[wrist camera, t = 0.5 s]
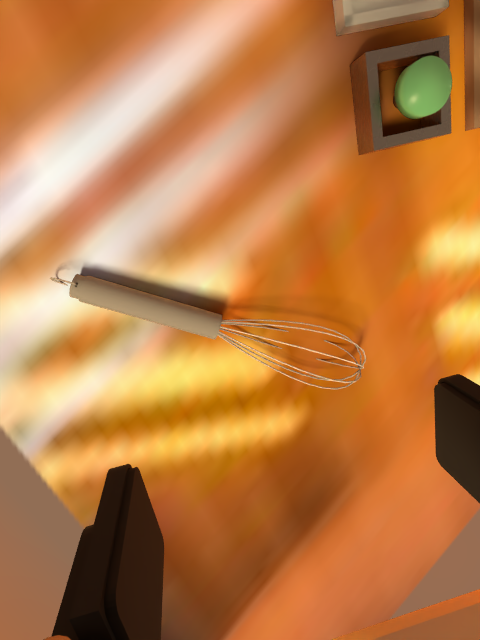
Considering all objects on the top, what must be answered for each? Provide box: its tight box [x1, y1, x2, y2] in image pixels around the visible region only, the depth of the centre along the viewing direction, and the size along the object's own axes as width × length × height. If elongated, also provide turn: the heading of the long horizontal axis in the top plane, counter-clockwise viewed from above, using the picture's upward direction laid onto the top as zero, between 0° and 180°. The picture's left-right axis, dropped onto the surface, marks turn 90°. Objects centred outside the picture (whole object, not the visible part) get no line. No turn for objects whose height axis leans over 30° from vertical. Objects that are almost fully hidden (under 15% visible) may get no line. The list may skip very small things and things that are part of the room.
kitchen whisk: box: [50, 274, 366, 389], centre depth 37 cm, size 6×34×6 cm, turn 71°
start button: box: [393, 56, 452, 119], centre depth 33 cm, size 4×4×4 cm
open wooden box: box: [350, 35, 451, 155], centre depth 34 cm, size 8×8×3 cm
